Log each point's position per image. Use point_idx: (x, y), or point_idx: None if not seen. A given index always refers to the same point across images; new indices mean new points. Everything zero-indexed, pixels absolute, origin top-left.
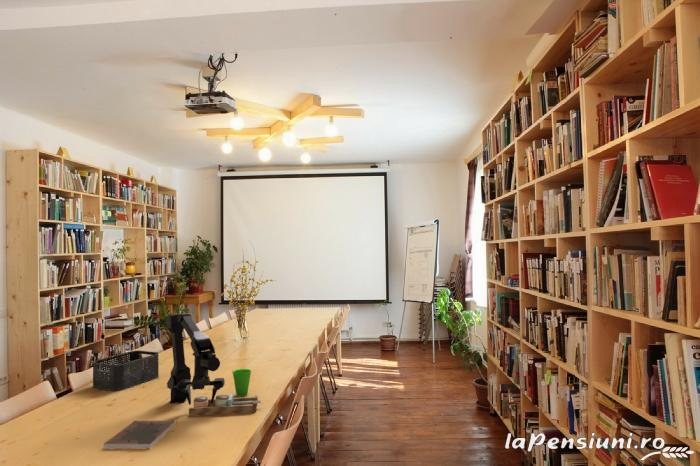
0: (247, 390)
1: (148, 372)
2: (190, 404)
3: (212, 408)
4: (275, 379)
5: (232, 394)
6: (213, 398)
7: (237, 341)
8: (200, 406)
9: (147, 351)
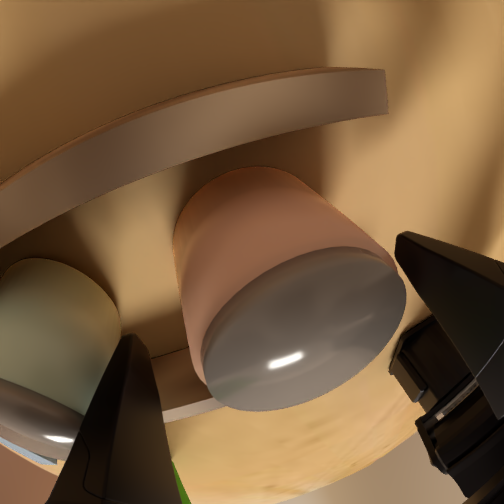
0: None
1: (463, 393)
2: (395, 246)
3: (4, 186)
4: None
5: (35, 459)
6: (94, 399)
7: (315, 489)
8: (248, 211)
9: None
